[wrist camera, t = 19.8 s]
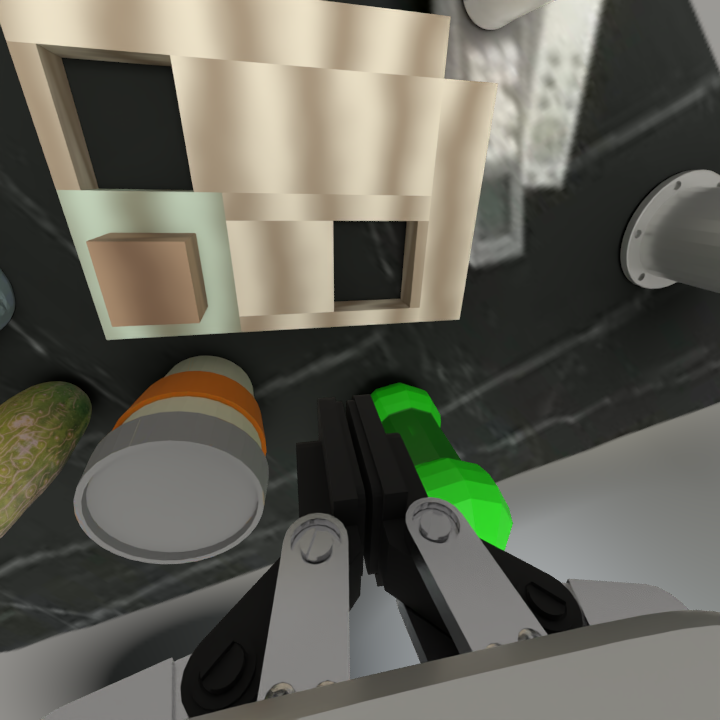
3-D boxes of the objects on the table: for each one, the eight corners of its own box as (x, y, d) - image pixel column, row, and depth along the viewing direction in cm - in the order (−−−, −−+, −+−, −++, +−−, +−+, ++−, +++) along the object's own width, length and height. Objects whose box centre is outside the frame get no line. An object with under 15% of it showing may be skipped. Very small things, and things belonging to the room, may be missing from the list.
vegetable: (24, 362, 32) (-262, 579, 15) (100, 356, 34) (-84, 552, 16) (50, 416, 35) (-167, 651, 18) (119, 409, 36) (-20, 623, 19)
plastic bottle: (434, 367, 42) (602, 570, 21) (418, 437, 47) (541, 662, 25) (352, 367, 40) (444, 597, 18) (344, 441, 45) (409, 693, 23)
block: (195, 233, 28) (184, 241, 24) (208, 306, 31) (199, 323, 27) (110, 232, 27) (85, 241, 23) (131, 308, 29) (112, 326, 26)
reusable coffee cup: (226, 455, 42) (205, 582, 29) (118, 405, 36) (31, 534, 23) (293, 381, 39) (303, 484, 26) (187, 314, 34) (133, 403, 21)
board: (486, 37, 28) (507, 23, 26) (447, 309, 39) (459, 319, 36) (13, -17, 22) (-22, -42, 19) (119, 326, 33) (106, 339, 30)
